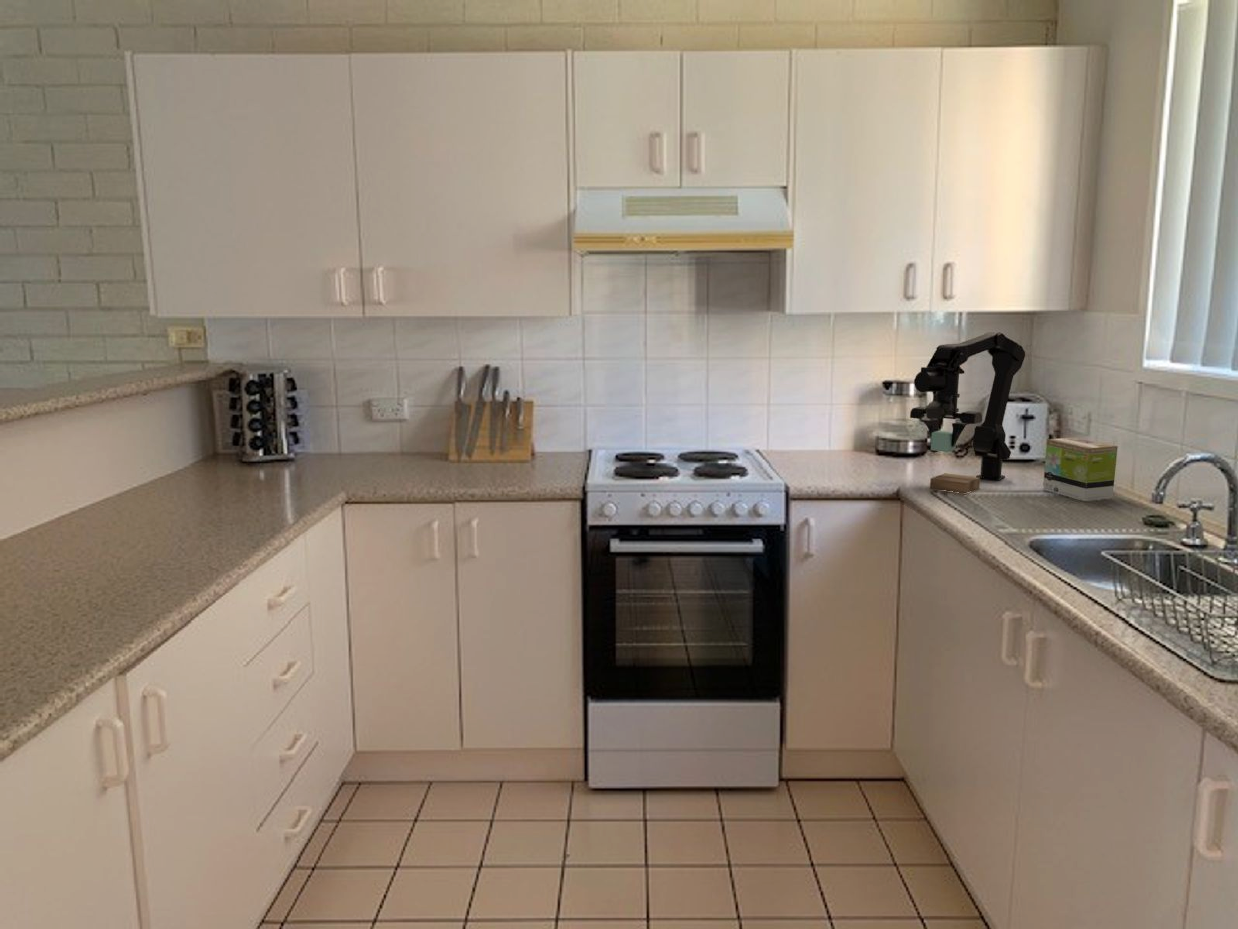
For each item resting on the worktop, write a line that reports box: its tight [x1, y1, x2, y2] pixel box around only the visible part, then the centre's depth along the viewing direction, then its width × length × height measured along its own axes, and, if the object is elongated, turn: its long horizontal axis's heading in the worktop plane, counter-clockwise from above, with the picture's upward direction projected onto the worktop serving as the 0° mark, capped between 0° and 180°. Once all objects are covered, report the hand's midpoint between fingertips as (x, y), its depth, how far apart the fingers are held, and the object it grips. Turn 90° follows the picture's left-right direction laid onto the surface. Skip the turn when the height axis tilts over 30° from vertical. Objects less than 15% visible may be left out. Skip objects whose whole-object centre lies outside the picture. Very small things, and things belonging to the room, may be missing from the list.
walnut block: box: [929, 473, 981, 494], centre depth 257 cm, size 10×10×4 cm
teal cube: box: [930, 430, 957, 453], centre depth 260 cm, size 5×5×5 cm
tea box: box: [1042, 436, 1119, 502], centre depth 248 cm, size 15×10×15 cm, turn 19°
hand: (943, 445), depth 260 cm, fingers closed on teal cube, 5 cm apart
